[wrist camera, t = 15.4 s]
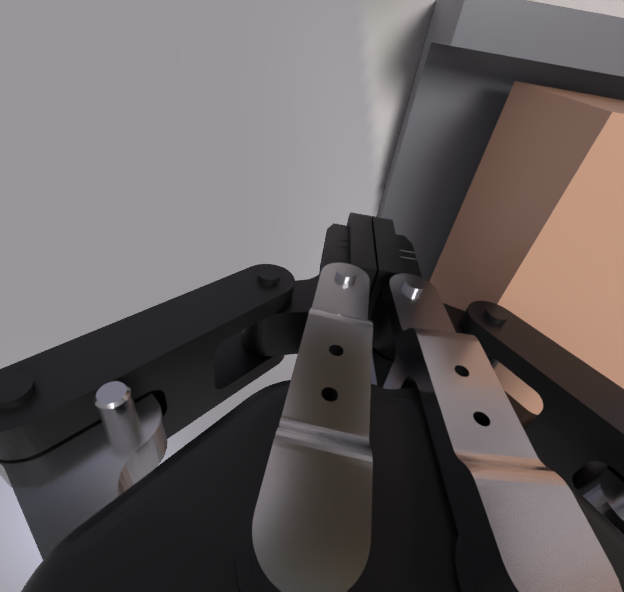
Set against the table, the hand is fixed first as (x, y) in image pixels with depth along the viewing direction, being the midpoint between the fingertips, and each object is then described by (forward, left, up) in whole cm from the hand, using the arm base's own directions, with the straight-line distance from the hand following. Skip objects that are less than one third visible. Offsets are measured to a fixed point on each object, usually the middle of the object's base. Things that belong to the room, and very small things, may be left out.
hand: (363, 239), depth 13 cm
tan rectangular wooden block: (-5, 0, 0) cm, 6 cm away
